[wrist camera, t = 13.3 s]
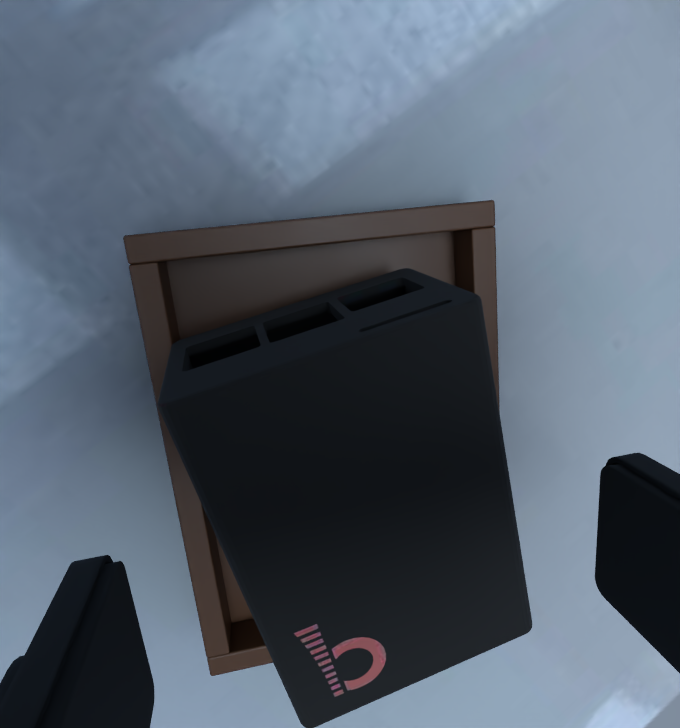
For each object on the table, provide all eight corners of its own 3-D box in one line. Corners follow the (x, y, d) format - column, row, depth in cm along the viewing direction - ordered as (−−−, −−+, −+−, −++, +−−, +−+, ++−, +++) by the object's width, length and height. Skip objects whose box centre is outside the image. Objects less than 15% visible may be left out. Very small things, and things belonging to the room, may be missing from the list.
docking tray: (138, 236, 16) (122, 235, 14) (466, 205, 17) (495, 199, 15) (214, 633, 20) (210, 677, 17) (480, 577, 21) (504, 611, 19)
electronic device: (405, 264, 16) (486, 295, 11) (461, 527, 20) (537, 630, 15) (170, 340, 15) (153, 408, 10) (280, 600, 19) (302, 734, 14)
